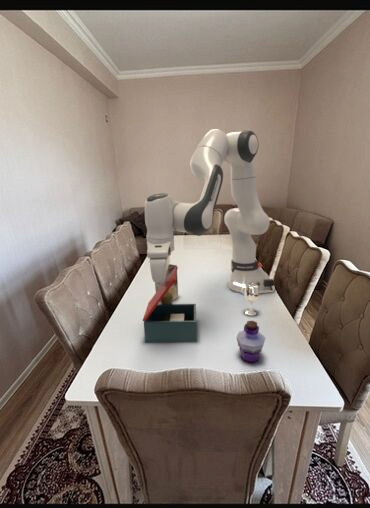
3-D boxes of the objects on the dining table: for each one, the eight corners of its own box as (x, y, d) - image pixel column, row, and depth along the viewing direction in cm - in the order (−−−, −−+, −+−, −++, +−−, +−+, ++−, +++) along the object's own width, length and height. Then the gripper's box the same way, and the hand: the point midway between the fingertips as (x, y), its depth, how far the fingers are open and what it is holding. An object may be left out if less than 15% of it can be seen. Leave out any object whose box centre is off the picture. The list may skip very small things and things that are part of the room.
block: (184, 325, 93) (184, 313, 92) (184, 333, 88) (184, 321, 87) (171, 325, 93) (170, 313, 92) (170, 333, 89) (169, 321, 87)
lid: (177, 266, 90) (176, 265, 90) (175, 280, 78) (173, 279, 78) (150, 303, 95) (148, 302, 95) (144, 321, 83) (142, 320, 83)
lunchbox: (196, 321, 97) (195, 303, 95) (196, 341, 85) (196, 321, 83) (150, 322, 97) (149, 304, 95) (145, 342, 85) (143, 322, 83)
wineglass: (259, 316, 99) (261, 288, 95) (245, 316, 99) (246, 289, 95) (255, 309, 104) (257, 282, 101) (241, 309, 104) (243, 283, 101)
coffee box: (167, 294, 120) (165, 263, 116) (178, 297, 117) (177, 265, 112) (155, 302, 113) (153, 269, 108) (167, 305, 110) (165, 271, 105)
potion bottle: (246, 344, 83) (248, 312, 79) (270, 357, 77) (273, 323, 73) (229, 356, 78) (230, 322, 74) (253, 371, 71) (255, 335, 68)
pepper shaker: (173, 324, 95) (171, 298, 92) (157, 322, 97) (156, 296, 93) (176, 315, 101) (175, 291, 98) (162, 314, 102) (160, 290, 99)
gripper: (155, 238, 92) (157, 273, 96) (145, 254, 72) (149, 297, 76) (172, 237, 91) (174, 272, 96) (167, 253, 72) (170, 297, 76)
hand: (163, 284), depth 86 cm, fingers closed, pressing on lid
